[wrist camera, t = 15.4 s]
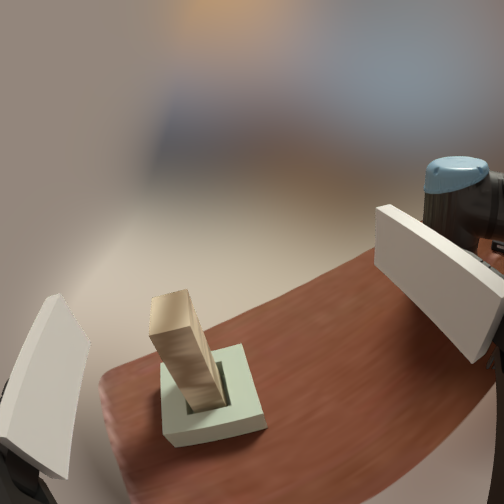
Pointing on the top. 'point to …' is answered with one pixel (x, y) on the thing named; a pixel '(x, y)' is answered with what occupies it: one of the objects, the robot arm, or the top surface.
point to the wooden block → (186, 351)
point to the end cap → (218, 420)
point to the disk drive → (498, 246)
